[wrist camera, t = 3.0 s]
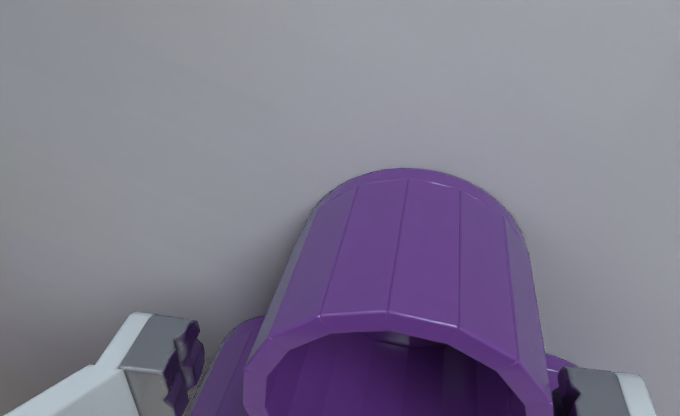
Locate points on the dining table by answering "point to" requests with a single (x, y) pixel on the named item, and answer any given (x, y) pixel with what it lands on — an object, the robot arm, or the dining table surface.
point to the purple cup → (227, 374)
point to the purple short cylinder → (403, 308)
